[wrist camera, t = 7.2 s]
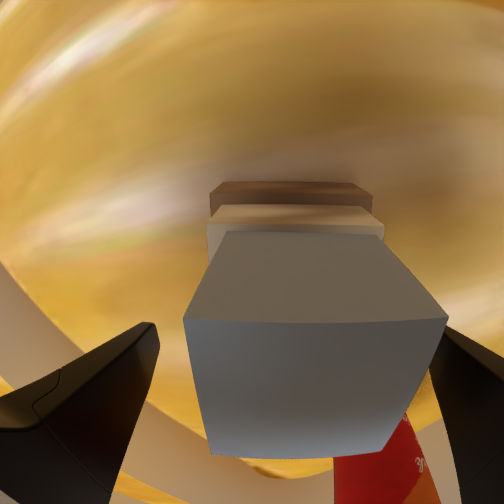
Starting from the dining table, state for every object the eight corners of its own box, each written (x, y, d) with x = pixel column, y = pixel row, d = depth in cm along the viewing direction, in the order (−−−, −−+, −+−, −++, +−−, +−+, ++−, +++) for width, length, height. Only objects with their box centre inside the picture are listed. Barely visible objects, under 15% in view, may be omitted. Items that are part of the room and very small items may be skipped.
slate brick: (375, 234, 9) (448, 316, 4) (353, 350, 11) (380, 451, 6) (226, 230, 9) (182, 318, 5) (232, 349, 11) (211, 454, 7)
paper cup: (390, 417, 22) (419, 540, 9) (313, 425, 22) (319, 562, 9) (416, 360, 19) (476, 510, 6) (324, 369, 20) (346, 552, 7)
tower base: (352, 183, 15) (399, 212, 9) (341, 296, 17) (367, 368, 11) (223, 182, 15) (190, 210, 9) (229, 295, 18) (209, 369, 12)
